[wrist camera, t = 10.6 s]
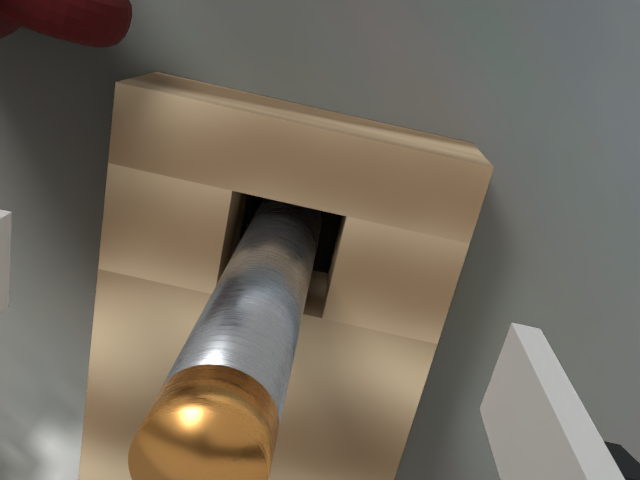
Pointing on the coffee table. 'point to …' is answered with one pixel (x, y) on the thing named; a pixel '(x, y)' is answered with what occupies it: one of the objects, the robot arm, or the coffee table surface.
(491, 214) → the coffee table surface
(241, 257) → the pin
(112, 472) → the block
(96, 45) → the mug
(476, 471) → the coffee table surface
